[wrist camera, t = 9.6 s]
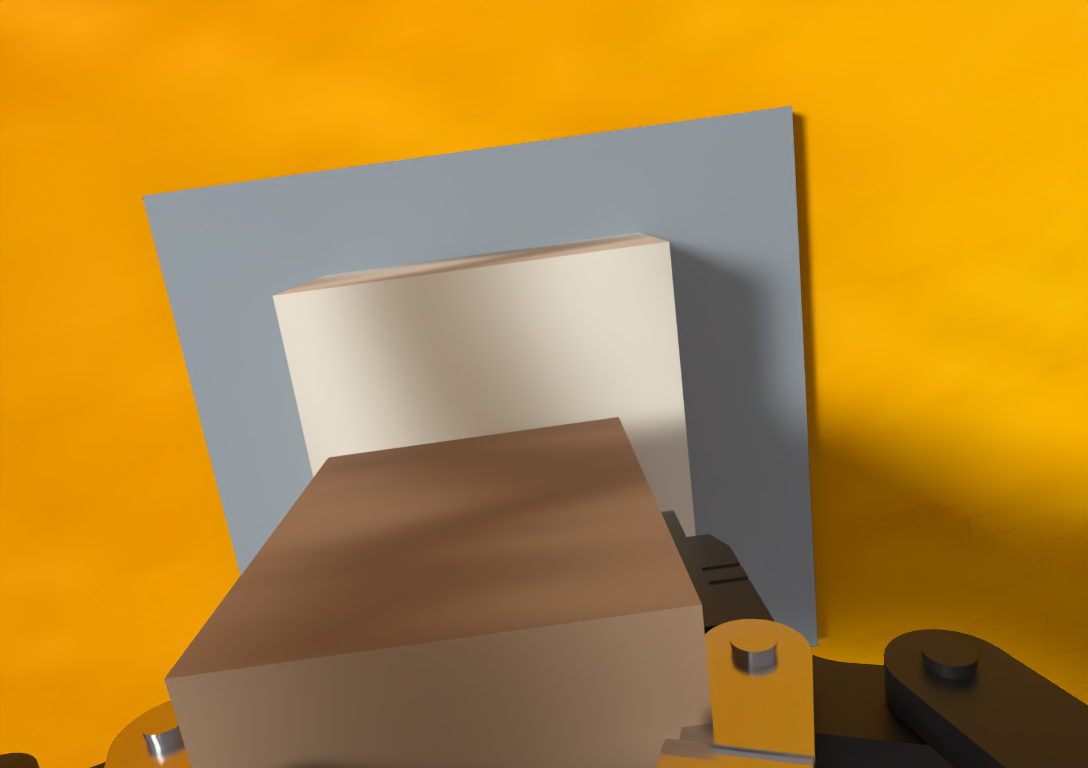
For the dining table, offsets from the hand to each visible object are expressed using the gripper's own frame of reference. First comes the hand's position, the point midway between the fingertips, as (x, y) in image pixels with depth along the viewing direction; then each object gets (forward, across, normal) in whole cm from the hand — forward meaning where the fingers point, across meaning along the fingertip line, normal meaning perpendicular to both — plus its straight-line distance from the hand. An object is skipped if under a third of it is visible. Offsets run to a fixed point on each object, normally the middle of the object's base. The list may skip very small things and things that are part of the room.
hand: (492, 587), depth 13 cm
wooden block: (+8, 0, 0) cm, 8 cm away
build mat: (+8, 0, 0) cm, 8 cm away
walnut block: (+1, 0, 0) cm, 1 cm away
